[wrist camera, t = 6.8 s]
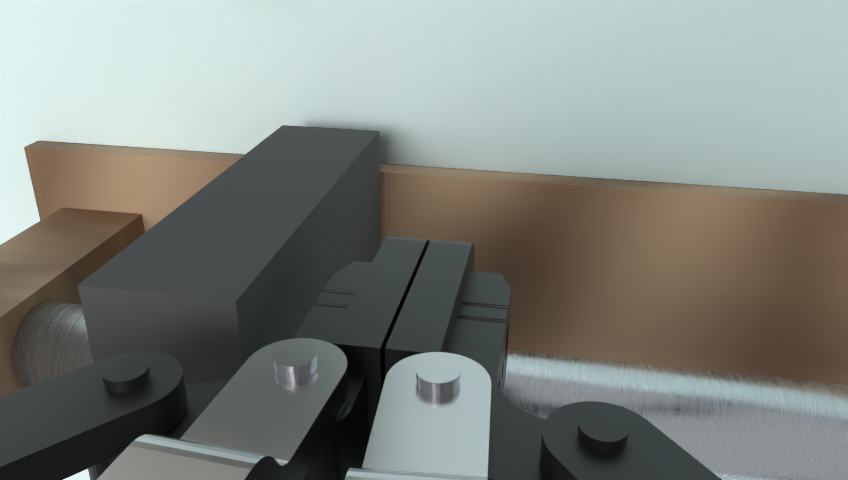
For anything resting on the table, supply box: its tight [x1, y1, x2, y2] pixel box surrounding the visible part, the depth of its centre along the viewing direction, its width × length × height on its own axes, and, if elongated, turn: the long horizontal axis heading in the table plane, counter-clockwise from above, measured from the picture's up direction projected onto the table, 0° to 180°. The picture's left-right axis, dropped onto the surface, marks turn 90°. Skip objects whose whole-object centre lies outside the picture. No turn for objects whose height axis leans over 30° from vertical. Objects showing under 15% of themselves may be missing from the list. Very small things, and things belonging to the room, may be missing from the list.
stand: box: [0, 141, 848, 397], centre depth 16 cm, size 28×6×8 cm, turn 88°
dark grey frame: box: [77, 125, 381, 384], centre depth 16 cm, size 2×8×8 cm, turn 178°
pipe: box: [12, 301, 848, 480], centre depth 15 cm, size 25×3×3 cm, turn 88°
